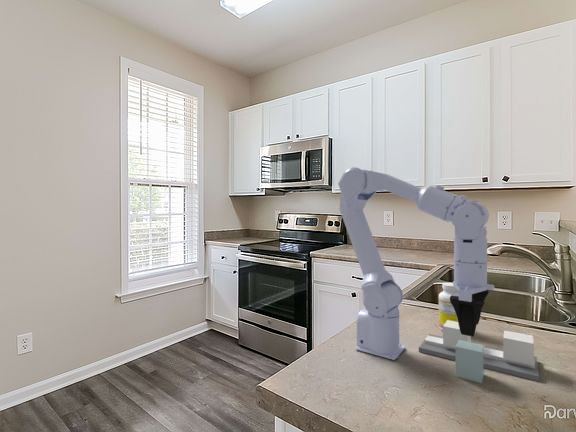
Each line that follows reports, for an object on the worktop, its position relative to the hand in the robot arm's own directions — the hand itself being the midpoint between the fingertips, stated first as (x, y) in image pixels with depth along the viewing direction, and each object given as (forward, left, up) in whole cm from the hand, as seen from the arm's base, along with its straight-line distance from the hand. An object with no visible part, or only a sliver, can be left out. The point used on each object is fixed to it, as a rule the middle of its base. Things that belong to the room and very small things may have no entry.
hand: (470, 328), depth 62 cm
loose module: (0, 0, -9) cm, 9 cm away
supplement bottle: (-7, +24, -10) cm, 27 cm away
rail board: (0, +10, -9) cm, 14 cm away
